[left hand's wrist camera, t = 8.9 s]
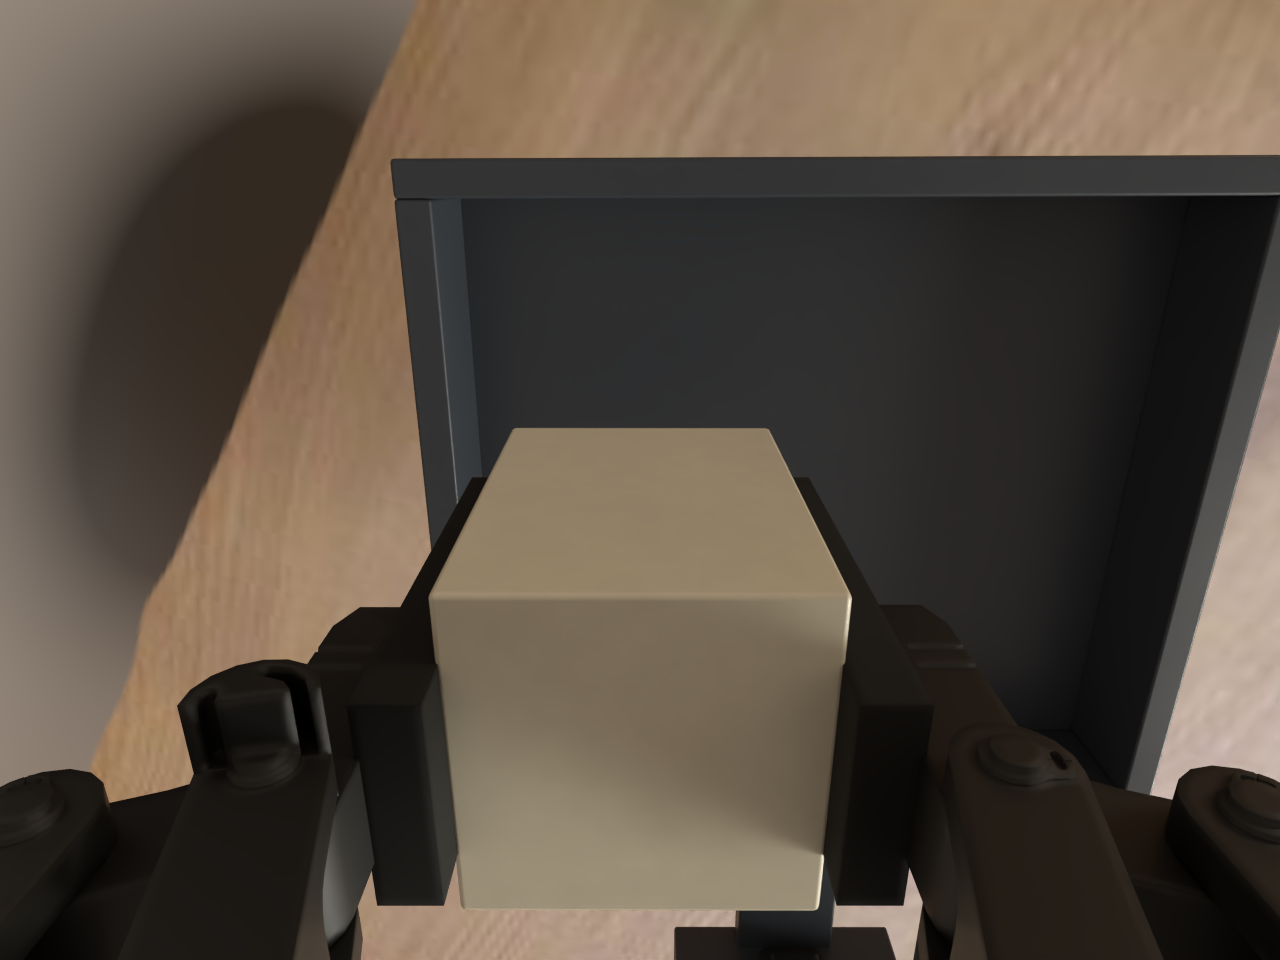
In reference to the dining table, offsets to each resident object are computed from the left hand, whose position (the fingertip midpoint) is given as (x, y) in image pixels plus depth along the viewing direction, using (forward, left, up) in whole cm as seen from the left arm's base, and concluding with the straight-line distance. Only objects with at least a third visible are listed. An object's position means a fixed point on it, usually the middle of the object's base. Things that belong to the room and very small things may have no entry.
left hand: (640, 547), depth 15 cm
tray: (+2, +7, -9) cm, 12 cm away
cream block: (0, 0, 0) cm, 0 cm away
